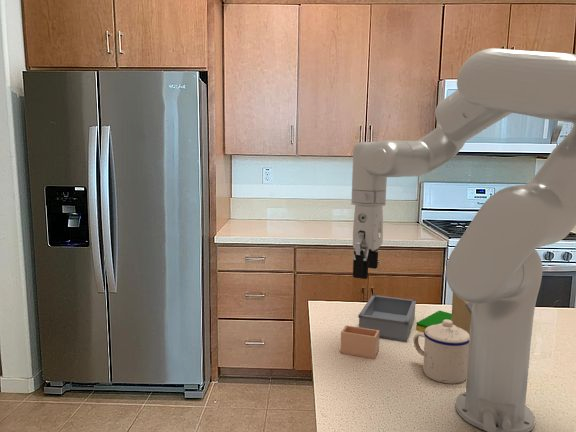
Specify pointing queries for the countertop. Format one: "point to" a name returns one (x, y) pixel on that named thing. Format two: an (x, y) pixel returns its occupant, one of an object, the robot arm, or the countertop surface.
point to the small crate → (360, 341)
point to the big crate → (388, 317)
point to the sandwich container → (461, 313)
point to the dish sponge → (432, 320)
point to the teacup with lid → (444, 352)
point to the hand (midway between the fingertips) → (365, 272)
